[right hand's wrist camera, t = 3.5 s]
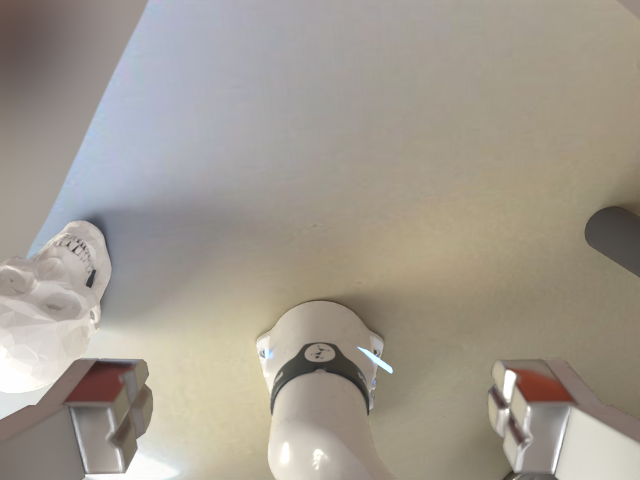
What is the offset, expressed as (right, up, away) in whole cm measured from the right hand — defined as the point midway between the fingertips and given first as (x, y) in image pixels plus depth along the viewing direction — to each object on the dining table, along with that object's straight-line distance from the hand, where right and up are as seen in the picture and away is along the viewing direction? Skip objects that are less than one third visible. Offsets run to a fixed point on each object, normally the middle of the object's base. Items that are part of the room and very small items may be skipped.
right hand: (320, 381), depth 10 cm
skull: (-35, -3, +52) cm, 63 cm away
